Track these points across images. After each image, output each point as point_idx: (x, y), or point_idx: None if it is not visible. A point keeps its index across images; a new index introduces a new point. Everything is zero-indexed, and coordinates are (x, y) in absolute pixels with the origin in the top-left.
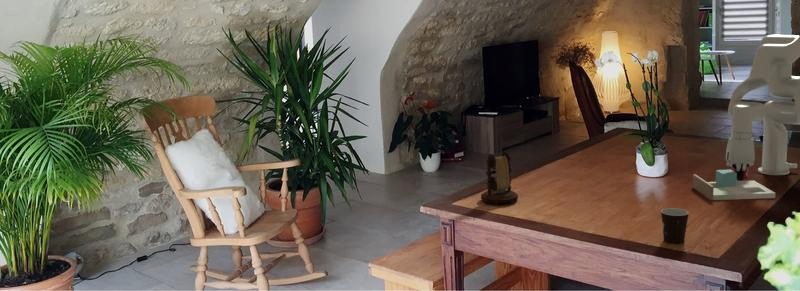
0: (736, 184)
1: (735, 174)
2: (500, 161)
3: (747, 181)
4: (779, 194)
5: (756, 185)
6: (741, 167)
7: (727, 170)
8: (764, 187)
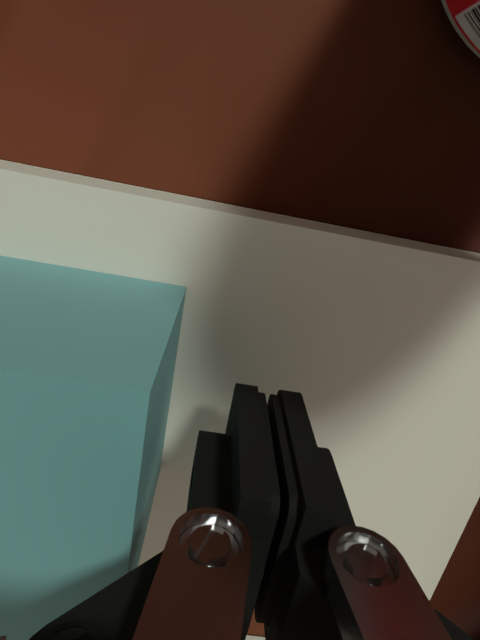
0: (211, 399)
1: None
2: None
3: (458, 304)
4: (470, 612)
5: (408, 501)
6: (332, 629)
7: (17, 451)
8: (423, 582)
